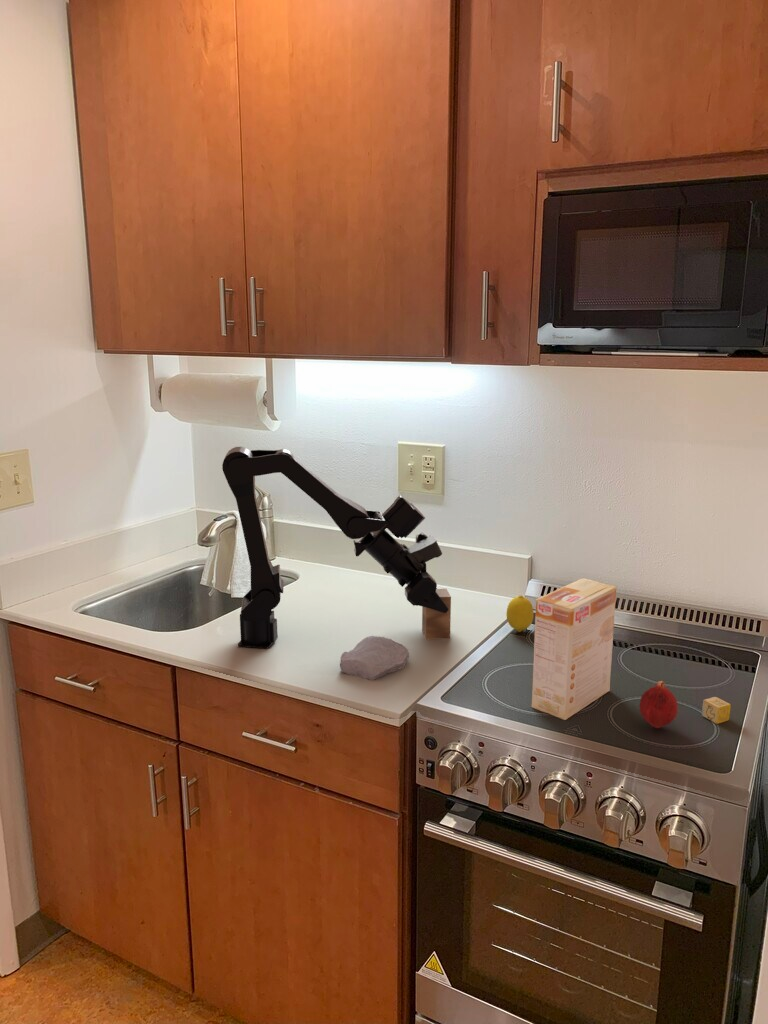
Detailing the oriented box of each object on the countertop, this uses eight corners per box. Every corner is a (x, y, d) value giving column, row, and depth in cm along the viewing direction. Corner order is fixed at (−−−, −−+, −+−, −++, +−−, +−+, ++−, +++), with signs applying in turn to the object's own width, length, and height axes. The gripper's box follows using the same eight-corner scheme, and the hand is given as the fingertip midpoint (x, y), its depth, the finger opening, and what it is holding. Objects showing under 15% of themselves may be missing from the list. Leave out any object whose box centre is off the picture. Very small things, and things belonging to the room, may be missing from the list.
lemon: (518, 639, 166) (520, 602, 164) (500, 630, 170) (501, 594, 168) (538, 633, 169) (540, 596, 167) (520, 624, 173) (521, 589, 171)
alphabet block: (714, 712, 136) (715, 695, 135) (729, 720, 133) (731, 703, 132) (701, 716, 134) (702, 699, 134) (716, 724, 132) (718, 707, 131)
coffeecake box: (575, 678, 148) (582, 576, 143) (611, 691, 143) (619, 586, 138) (529, 707, 137) (534, 598, 133) (565, 721, 133) (572, 608, 128)
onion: (675, 740, 127) (679, 692, 125) (636, 733, 129) (640, 686, 127) (676, 722, 132) (680, 677, 130) (639, 716, 134) (643, 671, 132)
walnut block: (425, 639, 166) (426, 597, 163) (422, 630, 170) (422, 589, 168) (450, 638, 166) (451, 596, 164) (445, 629, 171) (446, 588, 169)
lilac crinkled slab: (412, 669, 156) (368, 649, 161) (416, 647, 155) (372, 627, 159) (379, 695, 147) (334, 673, 151) (383, 673, 145) (338, 651, 149)
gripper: (425, 537, 153) (481, 591, 157) (411, 513, 171) (461, 562, 175) (383, 579, 154) (440, 631, 158) (374, 551, 172) (425, 598, 176)
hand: (442, 603), depth 167 cm, fingers open, 9 cm apart
